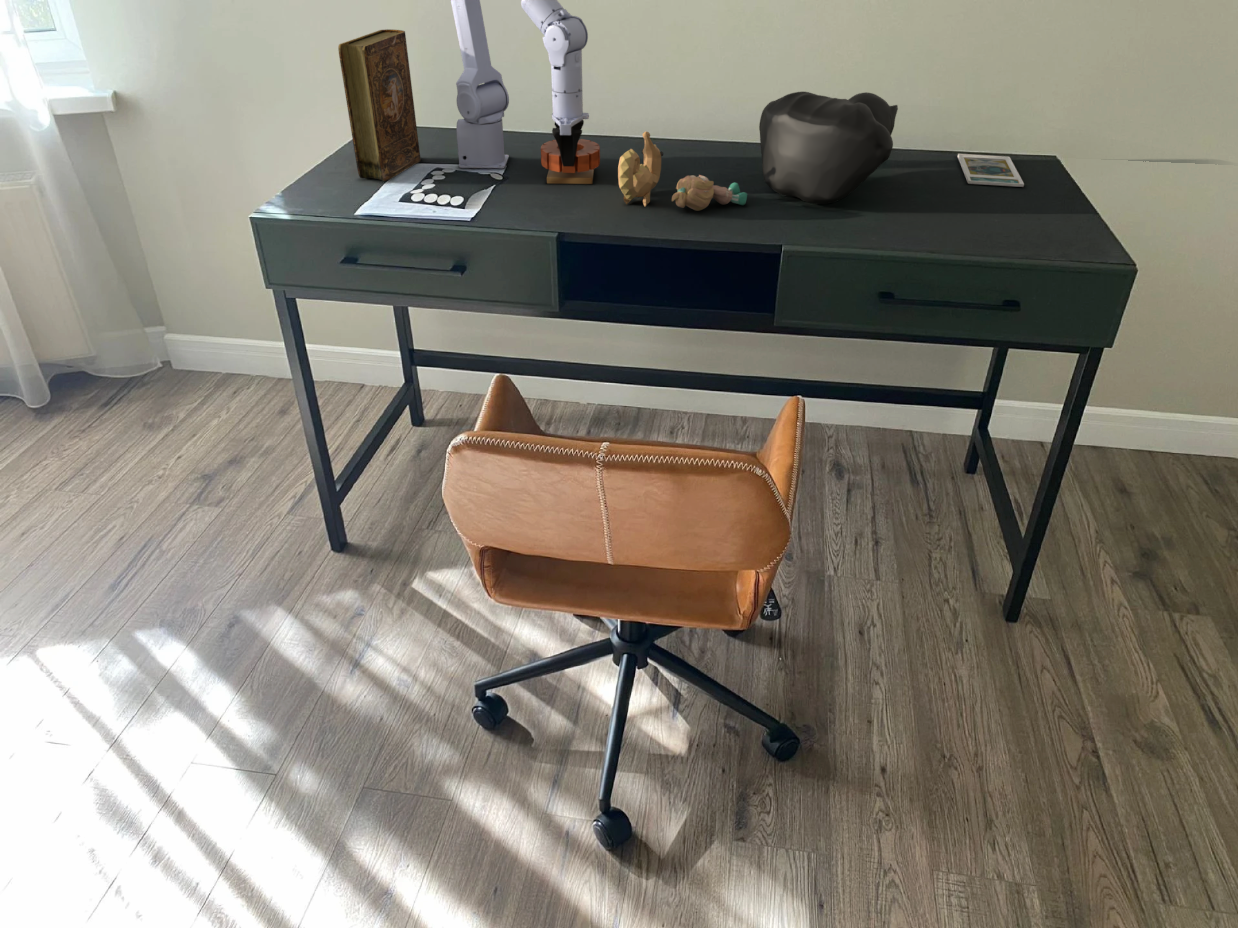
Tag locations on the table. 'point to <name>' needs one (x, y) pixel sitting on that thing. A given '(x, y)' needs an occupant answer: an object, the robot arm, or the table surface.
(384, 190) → the table surface
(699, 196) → the toy
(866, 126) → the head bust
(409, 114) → the book
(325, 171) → the table surface
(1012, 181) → the trading card
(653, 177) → the toy
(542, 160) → the ring
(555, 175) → the rack
